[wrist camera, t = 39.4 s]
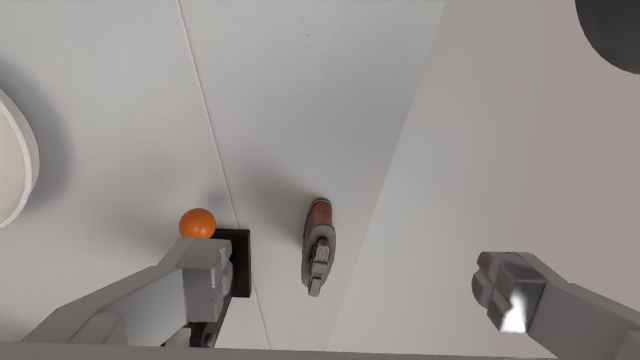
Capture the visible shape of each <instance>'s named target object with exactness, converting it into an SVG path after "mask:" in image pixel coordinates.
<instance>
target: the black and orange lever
mask: <svg viewBox="0 0 640 360" xmlns="http://www.w3.org/2000/svg"><path fill="white" fill-rule="evenodd" d="M209 239H222V240H230V242H231V246H232V253H231V255H230V258H229V261H230V262H231V263H232V268H233V272H232V281H231V286H230V290H229V292H228V295H226V296H225V297H223V304H224V305H223V308H222V310H221V313H220V315H219V318H218V320H217V322H197V323H196V326H195V328H194V330H193V332H192V334H191V336H190V338H189V341H190V347H195V348H214V346H215V343H216V340H217V337H218V334H219V332H220V329H221V326H222V323H223V321H224V318H225V315H226V312H227V310H228V307H229V304H230V301H231V299H232V297H243V298H250V295H251V254H250V230H235V229H215V232H214V233H213V235H212V236H211V237H210V238H209ZM165 342H166V341H165ZM165 342H164V343H163V344H161V345H160V346H163V347H165Z"/></svg>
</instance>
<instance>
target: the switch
mask: <svg viewBox="0 0 640 360" xmlns="http://www.w3.org/2000/svg"><path fill="white" fill-rule="evenodd" d="M215 229H216V220H215V218H214V216H213V214H212V213H211V212H209V211H208V210H206V209H202V208H195V209H191V210H189V211H188V212H186V213H185V214H184V215H183V216H182V218H181V220H180V223H179V230H180V233H181V235H182V236H183V237H190V238H206V239H209V238H210V237H211V236H212V235H213V233H214V232H215ZM196 323H197V322H186V324H185V325H184V326H183V327H182V328H181V329H179V330H178V331H177V332H176V333H175V334H173V335H172V336H171V337H170V338H169V339H167V340H166V342H165V347H190V341H189V338H190V336H191V334H192V332H193V330H194V328H195V326H196Z"/></svg>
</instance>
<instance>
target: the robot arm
mask: <svg viewBox="0 0 640 360" xmlns="http://www.w3.org/2000/svg"><path fill="white" fill-rule="evenodd" d="M231 253H232V246H231V242H230V240H222V239H206V238H190V237H182V238H179V239H178V241H177V242H176V243H175V244H174V245H173V247H172V248H171V249H170V250H169V251H168V253H167V254H166V255H165V256H164V257H163V259H162V260H161V261H160V262H159V263H158V265H157V266H150V267H148V268H146V269H144V270H141V271H139V272H137V273H135V274H133V275H130V276H128V277H126V278H124V279H121V280H119V281H117V282H115V283H113V284H110V285H108V286H106V287H104V288H102V289H99V290H97V291H95V292H93V293H91V294H88V295H86V296H84V297H82V298H80V299H77V300H75V301H73V302H71V303H68V304H66V305H64V306H62V307H60V308H57V309H56V310H55V311H54V312H53V313H52V314H50V315H49V316H48V317H47V318H46V319H45V320H44V321H43V322H42V323H40V324H39V325H38V326H37V327H36V328H35V329H34V330H33V331H32V332H31V333H29V334H28V335H27V336H26V337H25V338H24V339H23V340H22V341H21V342H0V360H640V312H638V311H636V310H634V309H631V308H629V307H627V306H625V305H622V304H620V303H618V302H615V301H613V300H611V299H609V298H606V297H604V296H602V295H599V294H597V293H595V292H592V291H590V290H588V289H585V288H583V287H581V286H579V285H576V284H574V283H568V282H567V281H566V280H564V279H563V278H562V277H561V276H559V275H558V274H557V273H556V272H554V271H553V270H552V269H551V268H550V267H548V266H547V265H546V264H545V263H543V262H542V261H541V260H540V259H538V258H537V257H536V256H535V255H533V254H531V253H528V252H481V254H480V255H479V257H478V260H477V264H478V266H479V268H480V269H479V270H478V271H477V272H476V273H474V274H473V279H472V292H473V294H474V297H475V299H476V300H477V302H478V303H479V304H480V305H481V306H483V307H485V308H486V309H488V310H487V316H488V317H489V318H490V320H491V321H492V322H493V324H494V325H495V327H496V328H497V329H498V331H499V332H513V333H528V336H530V337H531V338H532V339H534V340H535V341H537V342H538V343H539V344H540V345H542V346H543V347H545V348H546V349H547V350H549V351H550V352H551V353H553V354H554V355H555V356H557V357H558V358H559V359H553V358H519V357H487V356H454V355H421V354H389V353H356V352H325V351H292V350H260V349H228V348H195V347H163V346H160V345H161V344H163V343H164V342H165V341H166V340H167V339H169V338H170V337H171V336H172V335H173V334H175V333H176V332H177V331H178V330H179V329H181V328H182V327H183V326H184V325H185V324H186V322H217V320H218V318H219V315H220V313H221V310H222V308H223V305H224V304H223V297H225V296H226V295H228V292H229V290H230V286H231V281H232V272H233V268H232V263H231V262H230V261H229V258H230V255H231Z"/></svg>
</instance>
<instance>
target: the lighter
mask: <svg viewBox="0 0 640 360" xmlns="http://www.w3.org/2000/svg"><path fill="white" fill-rule="evenodd" d="M335 247H336V234H335V229H334V227H333V225H332V205H331V203H330V201H329V200H327V199H325V198H317V199H315V200H314V201H313V202H312V204H311V206H310V209H309V211H308V214H307V217H306V221H305V225H304V234H303V251H302V266H301V275H302V283H303V284H304V285H305V286H306V287H308V294H309V295H310V296H312V297H317V296H318V295H319V293H320V288H321V286H323V284H324V283H325V281H326V279H327V277H328V275H329V273H330V270H331V267H332V263H333V260H334V254H335Z"/></svg>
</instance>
